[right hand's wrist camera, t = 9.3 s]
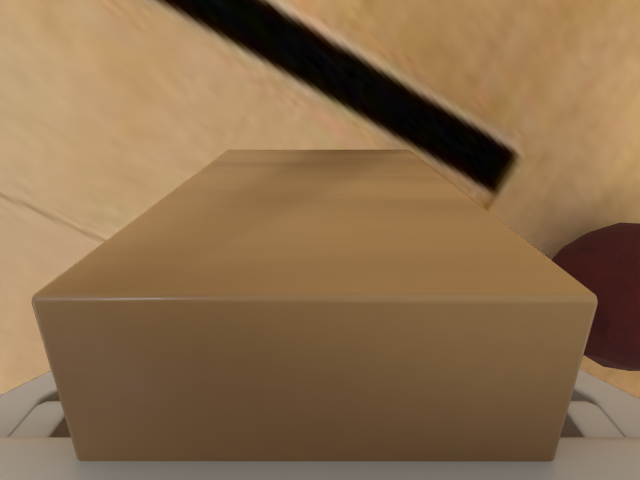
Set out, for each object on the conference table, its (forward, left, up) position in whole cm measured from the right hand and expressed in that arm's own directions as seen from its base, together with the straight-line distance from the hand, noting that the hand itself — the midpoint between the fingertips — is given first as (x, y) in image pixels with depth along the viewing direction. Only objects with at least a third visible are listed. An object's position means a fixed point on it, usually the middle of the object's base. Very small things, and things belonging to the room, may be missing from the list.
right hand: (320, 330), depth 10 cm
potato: (+4, +16, -14) cm, 21 cm away
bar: (+9, 0, -4) cm, 10 cm away
